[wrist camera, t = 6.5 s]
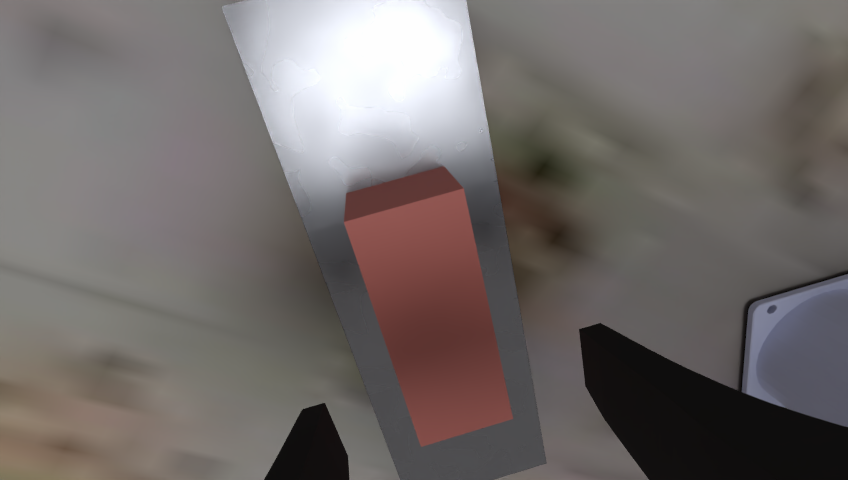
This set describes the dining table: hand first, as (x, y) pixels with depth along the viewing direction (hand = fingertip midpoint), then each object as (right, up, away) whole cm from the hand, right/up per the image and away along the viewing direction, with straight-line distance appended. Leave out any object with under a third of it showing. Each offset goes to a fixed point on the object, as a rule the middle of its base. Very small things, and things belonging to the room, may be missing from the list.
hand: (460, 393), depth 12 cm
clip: (-1, +3, +7) cm, 7 cm away
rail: (-1, +3, +7) cm, 8 cm away
